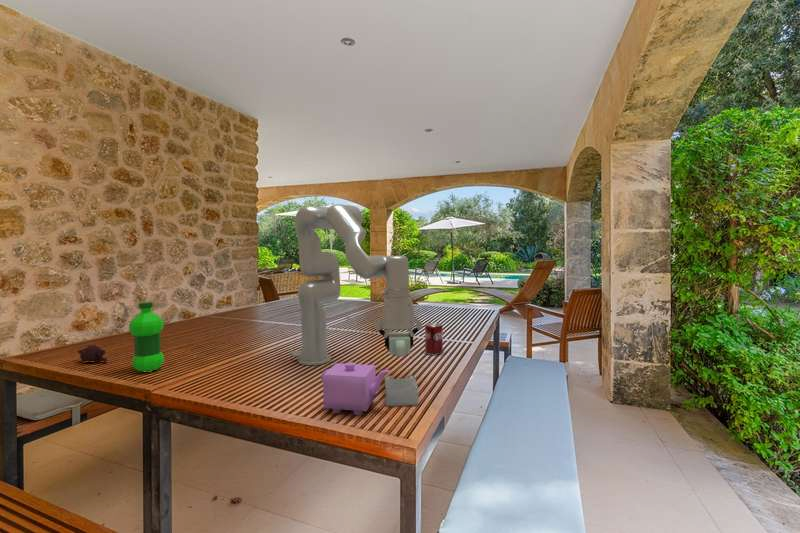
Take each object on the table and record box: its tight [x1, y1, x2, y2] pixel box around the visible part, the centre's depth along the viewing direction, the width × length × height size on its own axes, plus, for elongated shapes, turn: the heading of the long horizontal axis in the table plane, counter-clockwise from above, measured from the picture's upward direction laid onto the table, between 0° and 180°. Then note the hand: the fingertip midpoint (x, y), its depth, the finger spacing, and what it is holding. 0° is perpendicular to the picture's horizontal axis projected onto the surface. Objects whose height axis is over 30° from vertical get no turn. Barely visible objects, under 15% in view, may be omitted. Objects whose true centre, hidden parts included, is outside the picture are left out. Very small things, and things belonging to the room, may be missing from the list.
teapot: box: [320, 361, 391, 416], centre depth 107 cm, size 20×10×12 cm, turn 79°
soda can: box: [424, 322, 444, 356], centre depth 160 cm, size 7×7×12 cm
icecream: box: [77, 344, 109, 363], centre depth 152 cm, size 7×7×15 cm
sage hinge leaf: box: [388, 331, 411, 358], centre depth 123 cm, size 6×14×5 cm, turn 4°
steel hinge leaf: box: [384, 374, 419, 407], centre depth 114 cm, size 9×12×5 cm
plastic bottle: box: [128, 301, 165, 372], centre depth 140 cm, size 10×10×25 cm
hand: (399, 348), depth 126 cm, fingers closed on sage hinge leaf, 6 cm apart
